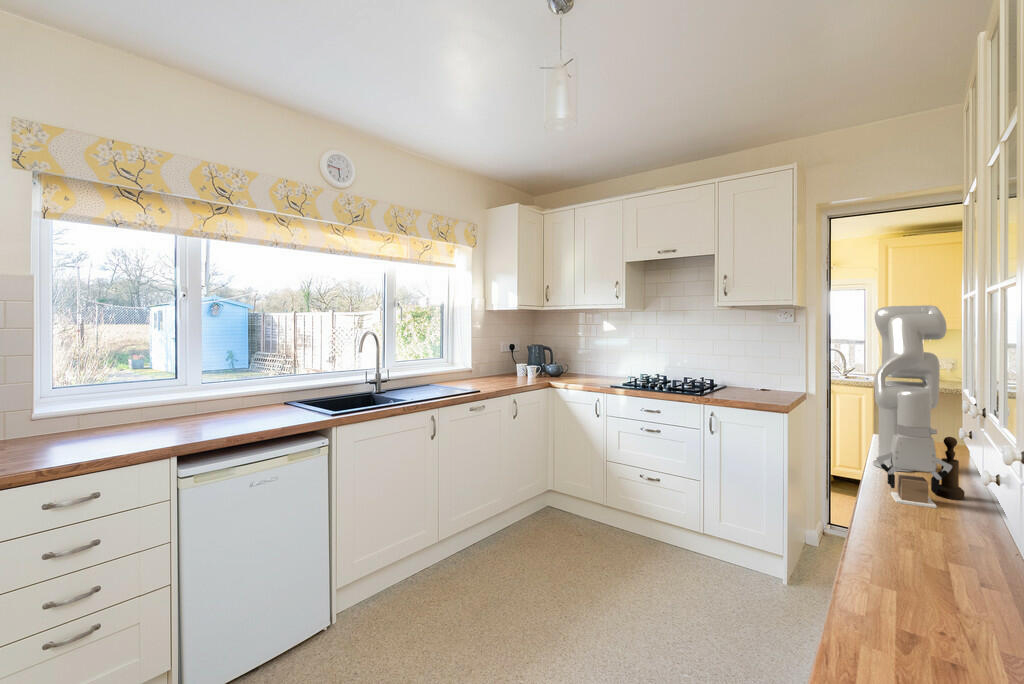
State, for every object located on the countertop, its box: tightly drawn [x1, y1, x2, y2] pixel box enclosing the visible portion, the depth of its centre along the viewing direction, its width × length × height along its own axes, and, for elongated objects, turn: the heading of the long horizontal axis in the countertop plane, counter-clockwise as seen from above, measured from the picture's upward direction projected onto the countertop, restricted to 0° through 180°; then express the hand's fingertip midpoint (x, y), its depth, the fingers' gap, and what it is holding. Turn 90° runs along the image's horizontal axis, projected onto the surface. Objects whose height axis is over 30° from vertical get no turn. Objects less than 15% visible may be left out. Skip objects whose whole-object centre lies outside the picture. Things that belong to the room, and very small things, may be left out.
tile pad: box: [890, 491, 938, 509], centre depth 143 cm, size 9×9×1 cm
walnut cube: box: [897, 473, 929, 503], centre depth 143 cm, size 6×6×6 cm
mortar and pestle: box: [934, 436, 966, 501], centre depth 146 cm, size 7×6×18 cm
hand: (912, 489), depth 143 cm, fingers open, 9 cm apart
